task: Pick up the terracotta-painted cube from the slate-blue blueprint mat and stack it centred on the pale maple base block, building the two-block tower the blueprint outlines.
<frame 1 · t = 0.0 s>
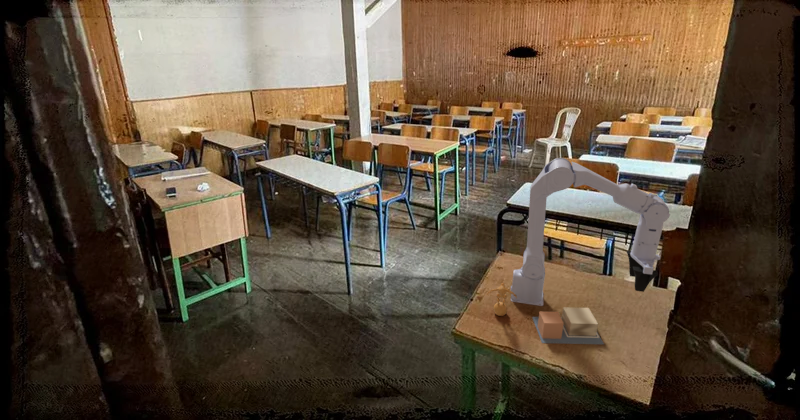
hand: (636, 283, 117), 10 cm above the table, tool pointing down, fingers open, 7 cm apart
figurine: (499, 317, 121), on the table
maple base block: (578, 327, 115), resting on blueprint mat
blueprint mat: (566, 330, 114), on the table
terracotta cube: (549, 332, 113), resting on blueprint mat
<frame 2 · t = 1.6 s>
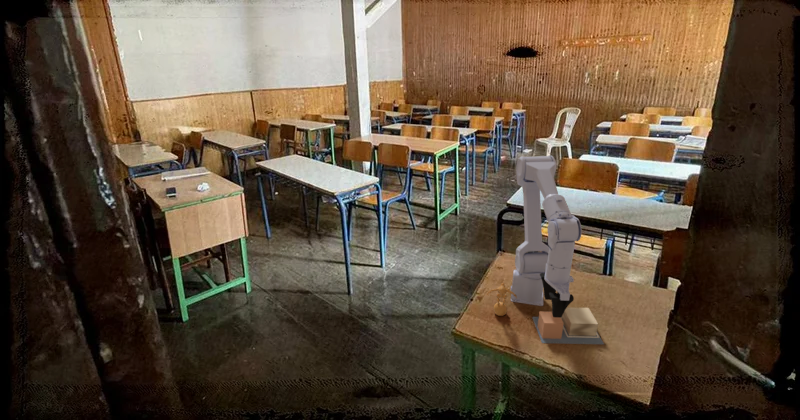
hand: (552, 307, 110), 9 cm above the table, tool pointing down, fingers open, 7 cm apart
nothing on the table moved.
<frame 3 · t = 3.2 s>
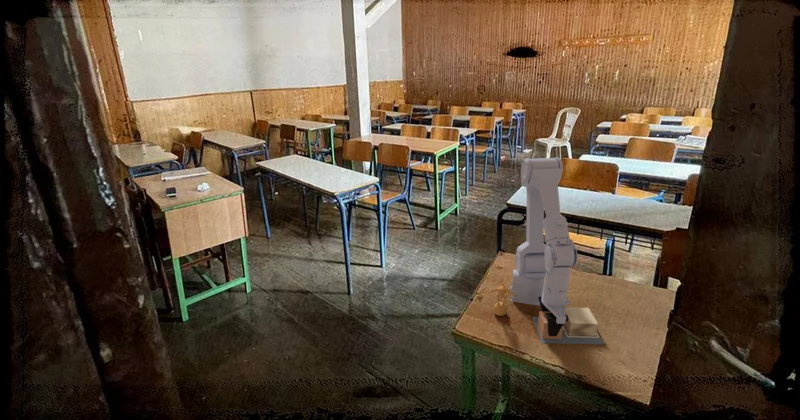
hand: (549, 328, 113), 2 cm above the table, tool pointing down, fingers closed on terracotta cube, 5 cm apart
terracotta cube: (549, 332, 113), resting on blueprint mat, touching gripper
everything else where it was.
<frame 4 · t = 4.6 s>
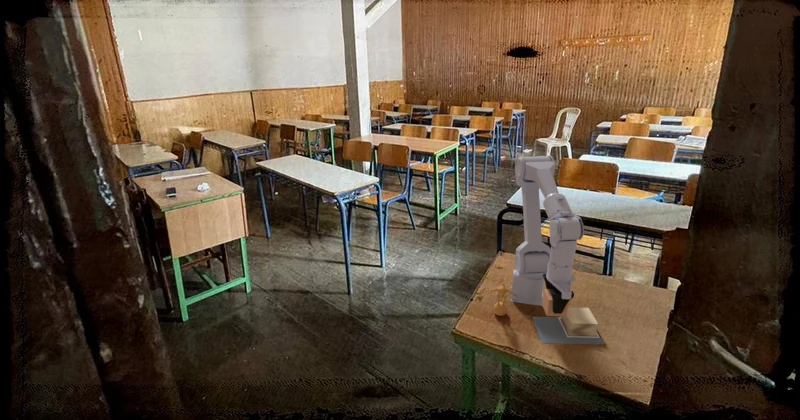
hand: (554, 306, 110), 9 cm above the table, tool pointing down, fingers closed on terracotta cube, 5 cm apart
terracotta cube: (553, 310, 110), point 8 cm above the table, touching gripper
everything else where it was.
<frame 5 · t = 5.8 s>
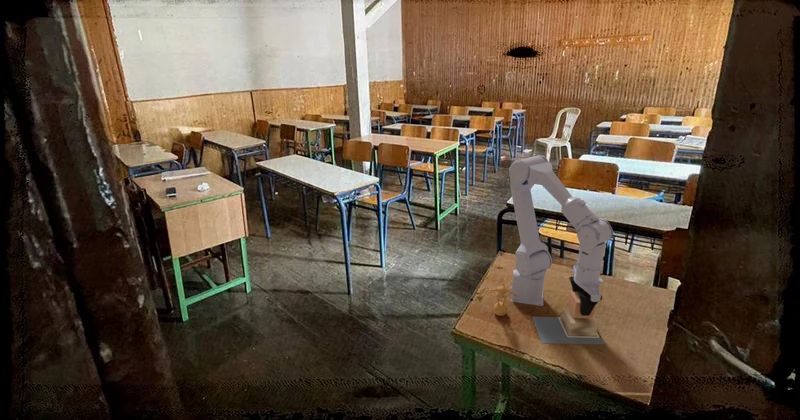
hand: (581, 308, 112), 7 cm above the table, tool pointing down, fingers closed on terracotta cube, 5 cm apart
terracotta cube: (580, 312, 113), point 5 cm above the table, touching gripper
everything else where it was.
when the fingers open (7 cm above the table, at t = 6.4 s): terracotta cube stays where it is, resting on maple base block.
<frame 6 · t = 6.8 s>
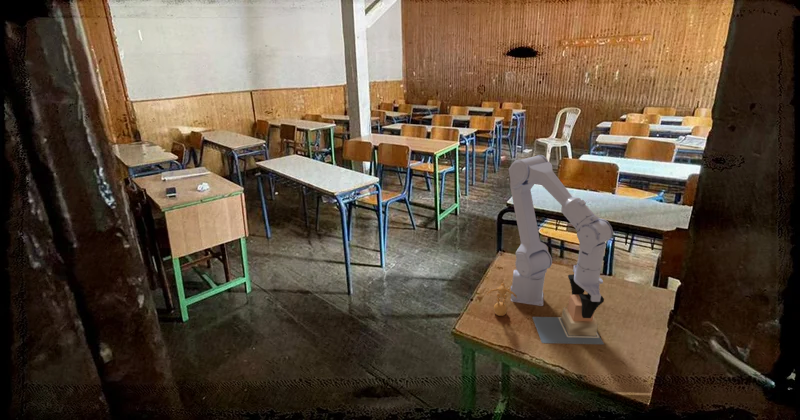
hand: (581, 308, 112), 7 cm above the table, tool pointing down, fingers open, 7 cm apart
maple base block: (578, 327, 115), resting on blueprint mat, touching terracotta cube
terracotta cube: (579, 315, 113), point 4 cm above the table, touching maple base block
everything else where it was.
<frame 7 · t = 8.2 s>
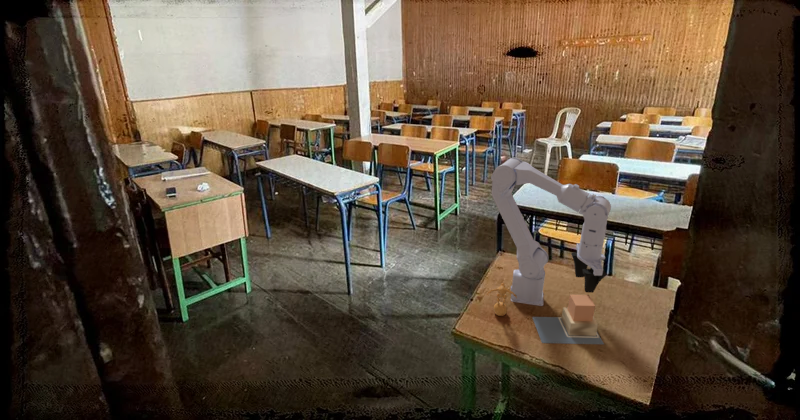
hand: (584, 284, 117), 10 cm above the table, tool pointing down, fingers open, 7 cm apart
nothing on the table moved.
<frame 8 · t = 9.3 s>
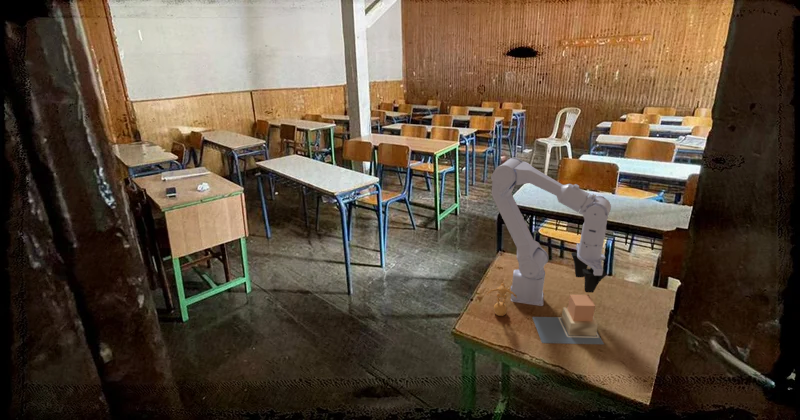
hand: (584, 284, 117), 10 cm above the table, tool pointing down, fingers open, 7 cm apart
nothing on the table moved.
at the end: terracotta cube 0.1 cm off-centre on the maple base block, point 4.0 cm above the maple base block's base; terracotta cube tilted 0°; maple base block moved 0.0 cm from its start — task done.
